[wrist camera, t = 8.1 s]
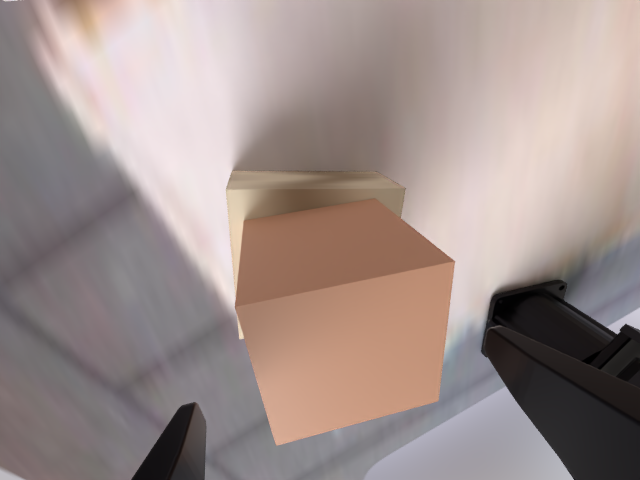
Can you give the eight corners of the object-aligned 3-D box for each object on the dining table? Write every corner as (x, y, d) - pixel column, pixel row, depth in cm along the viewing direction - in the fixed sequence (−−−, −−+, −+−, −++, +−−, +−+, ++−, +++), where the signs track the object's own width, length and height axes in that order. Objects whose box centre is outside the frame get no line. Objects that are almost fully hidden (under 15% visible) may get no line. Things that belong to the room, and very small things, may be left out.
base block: (374, 170, 17) (405, 188, 13) (359, 285, 20) (382, 323, 17) (232, 169, 15) (225, 189, 12) (242, 294, 19) (239, 338, 15)
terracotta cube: (375, 198, 13) (454, 261, 8) (377, 302, 16) (438, 401, 11) (243, 220, 13) (235, 306, 7) (268, 326, 15) (276, 445, 10)
